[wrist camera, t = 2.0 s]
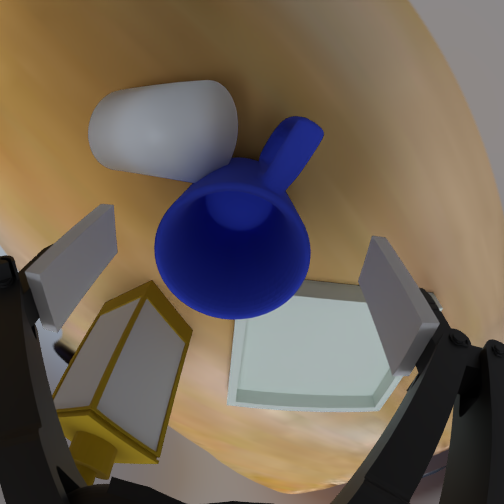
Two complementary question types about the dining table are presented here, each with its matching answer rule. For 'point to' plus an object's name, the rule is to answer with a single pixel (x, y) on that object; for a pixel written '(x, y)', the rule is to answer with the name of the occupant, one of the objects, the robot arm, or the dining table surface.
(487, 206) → the dining table surface
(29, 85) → the dining table surface
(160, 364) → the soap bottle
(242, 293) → the mug
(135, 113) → the white cylinder
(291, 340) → the tray
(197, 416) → the dining table surface
